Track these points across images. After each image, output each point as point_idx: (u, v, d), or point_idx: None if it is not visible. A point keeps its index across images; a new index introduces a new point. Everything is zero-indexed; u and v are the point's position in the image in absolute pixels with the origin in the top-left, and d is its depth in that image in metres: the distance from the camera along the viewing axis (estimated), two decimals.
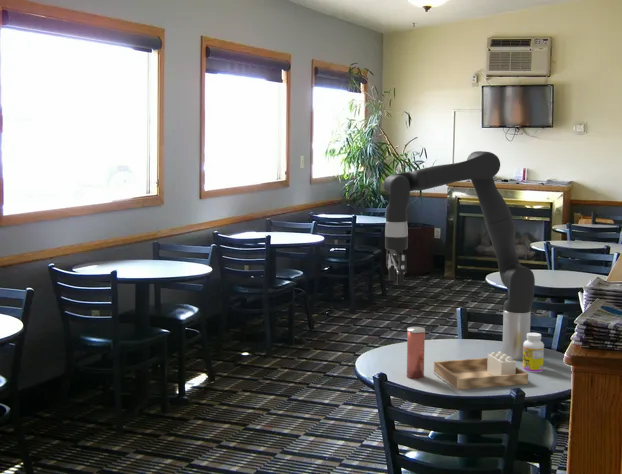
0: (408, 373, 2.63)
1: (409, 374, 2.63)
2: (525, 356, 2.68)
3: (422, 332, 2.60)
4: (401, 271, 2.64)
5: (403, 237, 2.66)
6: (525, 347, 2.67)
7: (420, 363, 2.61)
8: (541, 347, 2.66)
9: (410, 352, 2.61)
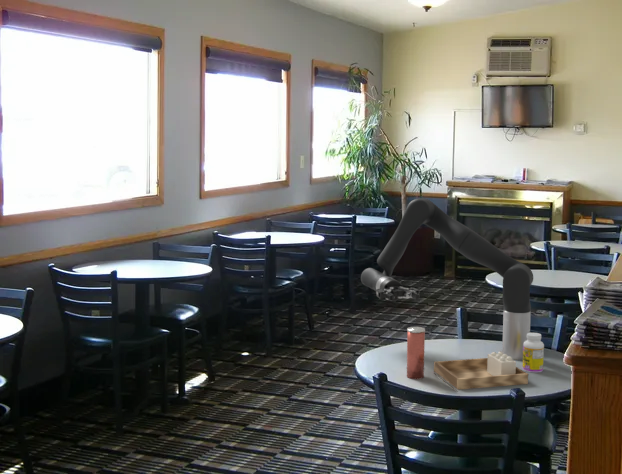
0: (408, 373, 2.63)
1: (409, 374, 2.63)
2: (525, 356, 2.68)
3: (422, 332, 2.60)
4: (380, 297, 2.75)
5: (380, 286, 2.86)
6: (525, 347, 2.67)
7: (420, 363, 2.62)
8: (541, 347, 2.66)
9: (410, 352, 2.61)
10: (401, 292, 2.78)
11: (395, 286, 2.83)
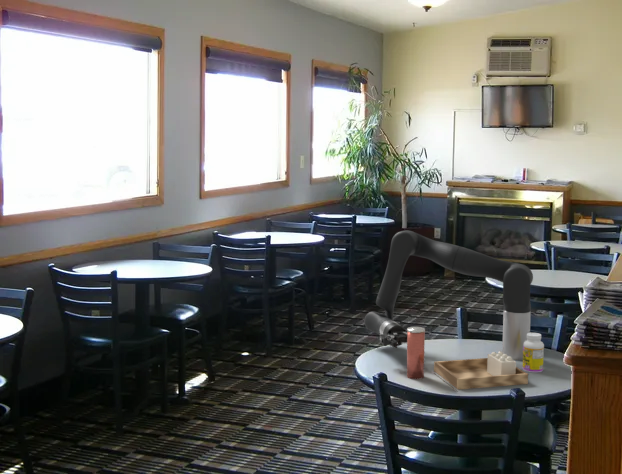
0: (408, 373, 2.63)
1: (409, 374, 2.63)
2: (525, 356, 2.68)
3: (422, 332, 2.60)
4: (383, 343, 2.73)
5: (383, 330, 2.84)
6: (525, 347, 2.67)
7: (420, 363, 2.61)
8: (541, 347, 2.66)
9: (410, 352, 2.61)
10: (405, 338, 2.76)
11: (399, 331, 2.81)
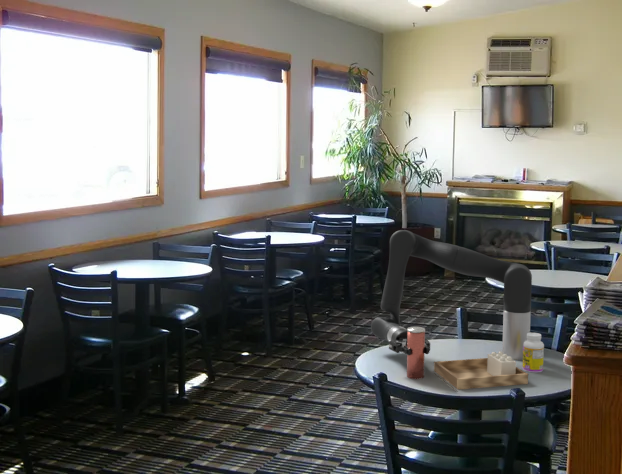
0: (408, 373, 2.63)
1: (409, 374, 2.63)
2: (525, 356, 2.68)
3: (422, 332, 2.60)
4: (396, 350, 2.65)
5: (391, 336, 2.76)
6: (525, 347, 2.67)
7: (420, 363, 2.61)
8: (541, 347, 2.66)
9: None
10: None
11: None
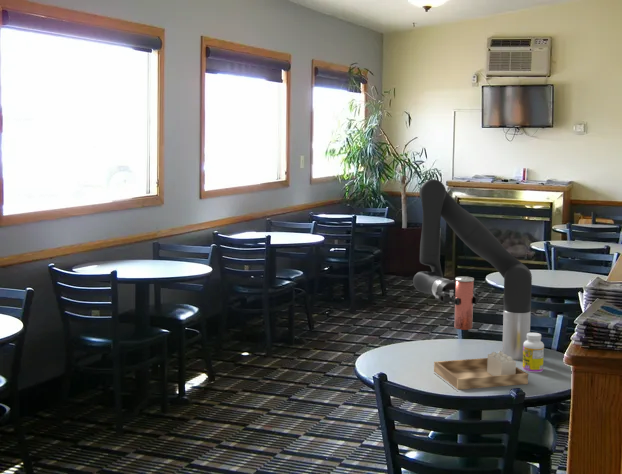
0: (456, 324, 2.56)
1: (457, 325, 2.56)
2: (525, 356, 2.68)
3: (471, 281, 2.53)
4: (443, 300, 2.58)
5: (437, 288, 2.69)
6: (525, 347, 2.67)
7: (469, 313, 2.54)
8: (541, 347, 2.66)
9: (459, 302, 2.54)
10: None
11: (454, 288, 2.65)
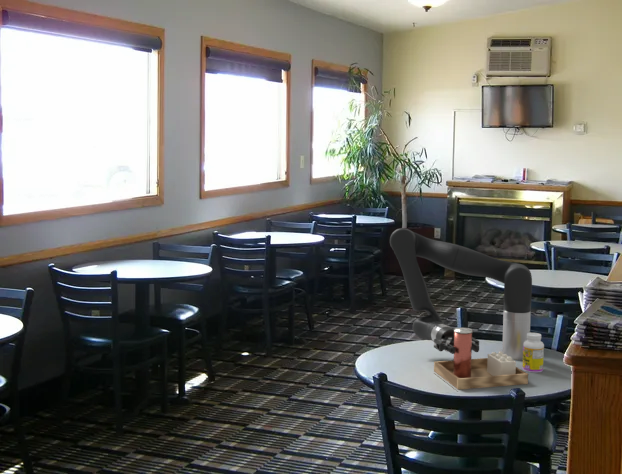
0: None
1: None
2: (525, 356, 2.68)
3: (470, 333, 2.56)
4: (439, 349, 2.60)
5: (436, 335, 2.71)
6: (525, 347, 2.67)
7: (467, 365, 2.57)
8: (541, 347, 2.66)
9: (457, 353, 2.57)
10: None
11: (453, 336, 2.68)
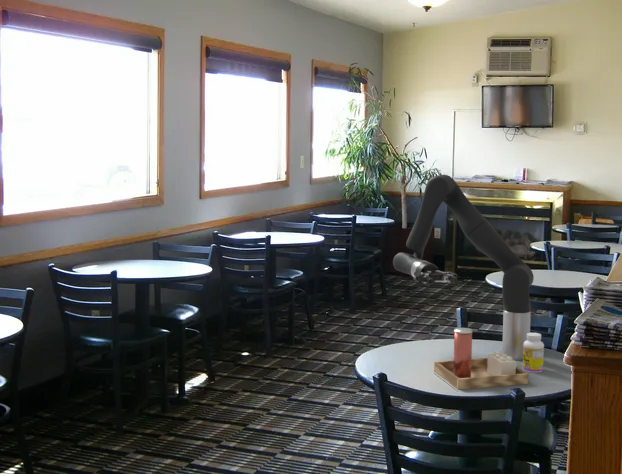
0: None
1: None
2: (525, 356, 2.68)
3: (470, 333, 2.56)
4: (418, 280, 2.74)
5: (416, 269, 2.85)
6: (525, 347, 2.67)
7: (467, 365, 2.57)
8: (541, 347, 2.66)
9: (457, 353, 2.57)
10: (439, 276, 2.77)
11: (432, 270, 2.82)
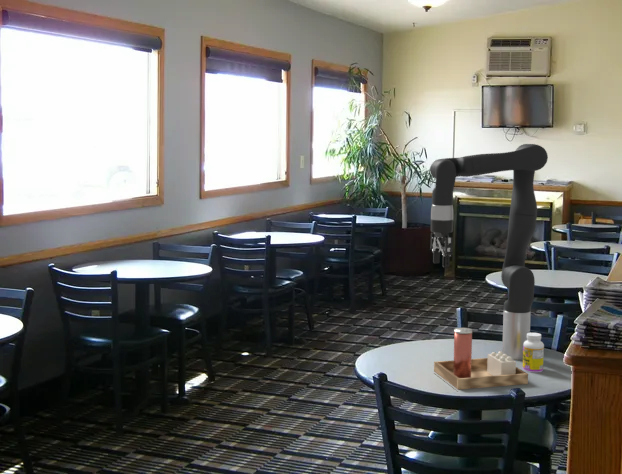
0: None
1: None
2: (525, 356, 2.68)
3: (470, 333, 2.56)
4: (447, 253, 2.69)
5: (449, 220, 2.72)
6: (525, 347, 2.67)
7: (467, 365, 2.57)
8: (541, 347, 2.66)
9: (457, 353, 2.57)
10: None
11: None
